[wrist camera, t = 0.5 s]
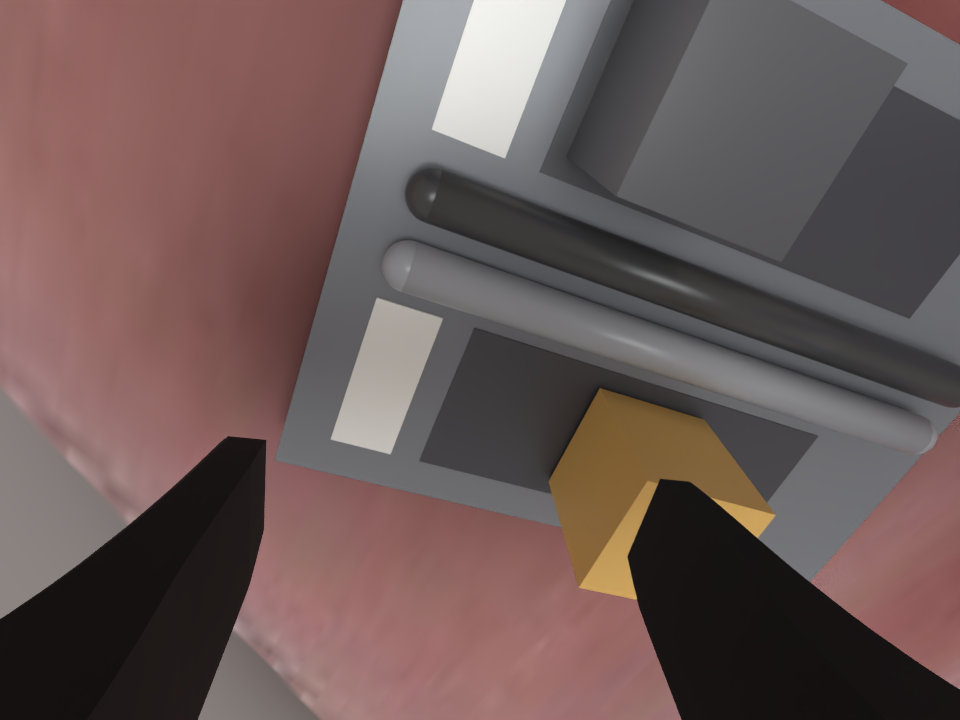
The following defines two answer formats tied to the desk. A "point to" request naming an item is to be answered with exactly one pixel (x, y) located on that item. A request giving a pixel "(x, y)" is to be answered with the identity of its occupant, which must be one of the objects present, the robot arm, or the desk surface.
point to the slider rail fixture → (646, 251)
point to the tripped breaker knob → (638, 482)
